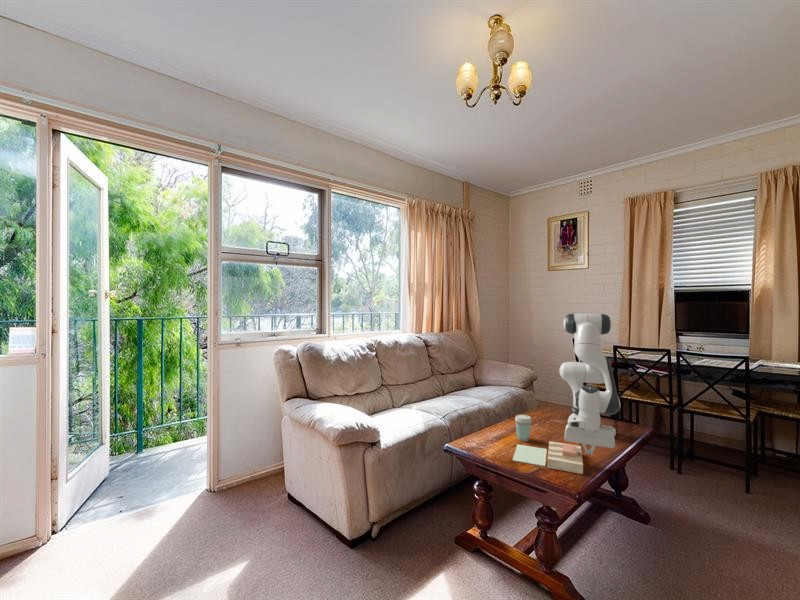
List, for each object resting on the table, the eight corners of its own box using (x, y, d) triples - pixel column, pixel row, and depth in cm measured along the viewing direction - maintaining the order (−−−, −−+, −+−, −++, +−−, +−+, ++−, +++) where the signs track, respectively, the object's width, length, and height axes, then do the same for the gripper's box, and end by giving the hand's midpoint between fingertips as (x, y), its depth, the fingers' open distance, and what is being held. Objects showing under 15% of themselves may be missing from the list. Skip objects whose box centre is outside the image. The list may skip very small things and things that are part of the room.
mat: (517, 444, 188) (517, 444, 188) (546, 449, 182) (546, 449, 182) (512, 460, 170) (512, 459, 170) (545, 466, 164) (545, 465, 164)
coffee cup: (530, 443, 190) (530, 420, 190) (513, 440, 194) (513, 417, 194) (533, 438, 197) (533, 415, 197) (516, 435, 201) (516, 413, 201)
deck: (549, 449, 183) (549, 441, 183) (580, 454, 177) (580, 445, 177) (547, 467, 163) (547, 458, 163) (582, 474, 157) (583, 464, 157)
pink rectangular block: (562, 448, 175) (562, 443, 175) (576, 450, 172) (576, 446, 172) (562, 455, 166) (562, 451, 166) (577, 457, 164) (577, 453, 164)
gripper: (614, 424, 165) (614, 455, 165) (564, 417, 173) (564, 447, 173) (616, 428, 159) (616, 461, 159) (564, 422, 167) (564, 452, 167)
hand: (588, 453), depth 166 cm, fingers closed
